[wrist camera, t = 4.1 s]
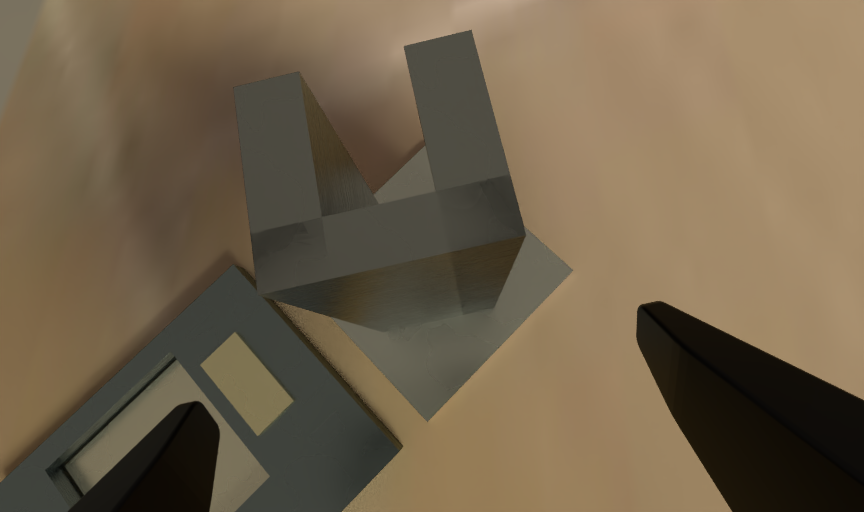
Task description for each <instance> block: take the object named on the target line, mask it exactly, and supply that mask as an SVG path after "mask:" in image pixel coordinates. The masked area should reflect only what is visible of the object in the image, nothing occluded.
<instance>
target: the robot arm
mask: <svg viewBox="0 0 864 512" xmlns="http://www.w3.org/2000/svg"><path fill="white" fill-rule="evenodd" d="M636 337H637V342H638V345H639V348H640V350H641V352H642V354H643V356H644V358H645V360H646V362H647V365H648V367H649V369H650V371H651V373H652V375H653V377H654V379H655V381H656V383H657V385H658V387H659V389H660V392H661V394H662V396H663V398H664V400H665V402H666V404H667V406H668V408H669V410H670V412H671V414H672V416H673V417H674V419H675V421H676V422H677V424H678V426H679V427H680V429H681V431H682V432H683V434H684V435H685V437H686V439H687V440H688V442H689V443H690V445H691V447H692V448H693V450H694V451H695V453H696V455H697V456H698V458H699V459H700V461H701V463H702V464H703V466H704V467H705V469H706V471H707V472H708V474H709V475H710V477H711V479H712V480H713V482H714V483H715V485H716V487H717V488H718V490H719V491H720V493H721V494H722V496H723V498H724V499H725V501H726V502H727V504H728V506H729V507H730V509H731V510H732V512H864V400H863V399H861V398H858V397H856V396H854V395H852V394H850V393H848V392H846V391H844V390H842V389H840V388H838V387H836V386H834V385H832V384H830V383H828V382H826V381H824V380H822V379H820V378H818V377H816V376H814V375H811V374H809V373H807V372H805V371H803V370H801V369H799V368H797V367H795V366H793V365H791V364H789V363H787V362H785V361H783V360H781V359H779V358H777V357H775V356H773V355H771V354H769V353H767V352H764V351H762V350H760V349H758V348H756V347H754V346H752V345H750V344H748V343H746V342H744V341H742V340H740V339H738V338H736V337H734V336H732V335H730V334H728V333H726V332H724V331H722V330H720V329H717V328H715V327H713V326H711V325H709V324H707V323H705V322H703V321H701V320H699V319H697V318H695V317H693V316H691V315H689V314H687V313H685V312H683V311H681V310H679V309H677V308H675V307H673V306H670V305H668V304H666V303H664V302H662V301H655V302H650V303H646V304H642V305H640V306H639V307H638V311H637V330H636ZM219 441H220V429H219V426H218V424H217V423H216V421H215V420H214V418H213V417H212V416H211V414H210V413H209V411H208V410H207V409H206V407H205V406H204V405H203V403H201V402H199V401H192V402H187V403H183V404H180V405H178V406H176V407H175V408H174V409H173V410H172V411H171V412H170V413H169V414H168V415H166V416H165V417H164V418H163V419H162V420H161V421H160V422H159V423H158V424H157V425H156V426H155V427H154V428H153V429H152V430H151V431H150V432H149V433H148V434H147V435H146V436H145V437H144V438H143V439H142V440H141V441H140V442H139V443H138V444H137V445H135V446H134V447H133V448H132V449H131V450H130V451H129V452H128V453H127V454H126V455H125V456H124V457H123V458H122V459H121V460H120V461H119V462H118V463H117V464H116V465H115V466H114V467H113V468H112V469H111V470H110V471H109V472H108V473H107V474H106V475H104V476H103V477H102V478H101V479H100V480H99V481H98V482H97V483H96V484H95V485H94V486H93V487H92V488H91V489H90V490H89V491H88V492H87V493H86V494H85V495H84V496H83V497H82V498H81V499H80V500H79V501H78V502H77V503H76V504H75V505H73V506H72V507H71V508H70V509H69V510H68V511H67V512H209V511H210V505H211V500H212V493H213V485H214V478H215V470H216V463H217V456H218V448H219Z"/></svg>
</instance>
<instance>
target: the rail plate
mask: <svg viewBox="0 0 864 512" xmlns="http://www.w3.org/2000/svg"><path fill="white" fill-rule="evenodd" d="M174 361H175V362H174ZM173 362H174V363H173ZM172 363H173V364H172ZM155 379H156V380H155ZM154 380H155V381H154ZM153 381H154V382H153ZM152 382H153V383H152ZM135 398H136V399H135ZM134 399H135V400H134ZM133 400H134V401H133ZM192 401H199V402H201V403H203V405H204V406H205V407H206V409H207V410H208V411H209V413H210V414H211V416H212V417H213V418H214V420H215V421H216V423H217V424H218V426H219V429H220V441H219V448H218V456H217V463H216V470H215V478H214V485H213V493H212V500H211V505H210V511H209V512H341V511H342V510H343V509H344V508H345V507H346V506H347V505H348V504H349V503H350V502H351V501H352V500H353V499H354V498H355V497H356V496H357V495H358V494H359V493H360V492H361V491H362V490H363V489H364V488H365V487H366V486H367V484H368V483H369V482H370V481H371V480H372V479H373V478H374V477H375V476H376V475H377V474H378V473H379V472H380V471H381V470H382V469H383V468H384V467H385V466H386V465H387V464H388V463H389V462H390V461H391V460H392V459H393V457H394V456H395V455H396V454H397V453H398V452H399V451H400V450H401V449H402V447H403V446H402V445H401V444H400V442H399V441H398V440H397V439H396V438H395V437H394V436H393V435H392V433H391V432H390V431H389V430H388V429H387V428H386V427H385V426H384V425H383V423H382V422H381V421H380V420H379V419H378V418H377V417H376V416H375V414H374V413H373V412H372V411H371V410H370V409H369V408H368V407H367V405H366V404H365V403H364V402H363V401H362V400H361V399H360V398H359V397H358V395H357V394H356V393H355V392H354V391H353V390H352V389H351V388H350V386H349V385H348V384H347V383H346V382H345V381H344V380H343V379H342V378H341V376H340V375H339V374H338V373H337V372H336V371H335V370H334V369H333V367H332V366H331V365H330V364H329V363H328V362H327V361H326V360H325V359H324V357H323V356H322V355H321V354H320V353H319V352H318V351H317V350H316V348H315V347H314V346H313V345H312V344H311V343H310V342H309V341H308V339H307V338H306V337H305V336H304V335H303V334H302V333H301V332H300V331H299V329H298V328H297V327H296V326H295V325H294V324H293V323H292V322H291V320H290V319H289V318H288V317H287V316H286V315H285V314H284V313H283V312H282V310H281V309H280V308H279V307H278V306H277V305H276V304H275V303H274V301H273V300H272V299H269V298H266V297H262V296H259V295H258V293H257V285H256V281H255V280H254V279H253V278H252V277H251V276H250V275H249V274H248V272H247V271H246V270H245V269H244V268H241V267H239V266H236V265H234V264H233V265H232V266H231V267H230V268H229V269H228V270H227V271H226V272H225V273H224V274H222V275H221V276H220V277H219V278H218V279H217V280H216V281H215V282H214V283H213V284H212V285H211V286H210V287H209V288H208V289H206V290H205V291H204V292H203V293H202V294H201V295H200V296H199V297H198V298H197V299H196V300H195V301H194V302H193V303H192V304H190V305H189V306H188V307H187V308H186V309H185V310H184V311H183V312H182V313H181V314H180V315H179V316H178V317H177V318H176V319H174V320H173V321H172V322H171V323H170V324H169V325H168V326H167V327H166V328H165V329H164V330H163V331H162V332H161V333H160V334H158V335H157V336H156V337H155V338H154V339H153V340H152V341H151V342H150V343H149V344H148V345H147V346H146V347H145V348H144V349H142V350H141V351H140V352H139V353H138V354H137V355H136V356H135V357H134V358H133V359H132V360H131V361H130V362H129V363H127V364H126V365H125V366H124V367H123V368H122V369H121V370H120V371H119V372H118V373H117V374H116V375H115V376H114V377H113V378H111V379H110V380H109V381H108V382H107V383H106V384H105V385H104V386H103V387H102V388H101V389H100V390H99V391H98V392H97V393H95V394H94V395H93V396H92V397H91V398H90V399H89V400H88V401H87V402H86V403H85V404H84V405H83V406H82V407H81V408H79V409H78V410H77V411H76V412H75V413H74V414H73V415H72V416H71V417H70V418H69V419H68V420H67V421H66V422H65V423H63V424H62V425H61V426H60V427H59V428H58V429H57V430H56V431H55V432H54V433H53V434H52V435H51V436H50V437H49V438H47V439H46V440H45V441H44V442H43V443H42V444H41V445H40V446H39V447H38V448H37V449H36V450H35V451H34V452H33V453H31V454H30V455H29V456H28V457H27V458H26V459H25V460H24V461H23V462H22V463H21V464H20V465H19V466H18V467H17V468H15V469H14V470H13V471H12V472H11V473H10V474H9V475H8V476H7V477H6V478H5V479H4V480H3V481H2V482H1V483H0V512H67V511H68V510H69V509H70V508H71V507H72V506H73V505H75V504H76V503H77V502H78V501H79V500H80V499H81V498H82V497H83V496H84V495H85V494H86V493H87V492H88V491H89V490H90V489H91V488H92V487H93V486H94V485H95V484H96V483H97V482H98V481H99V480H100V479H101V478H102V477H103V476H104V475H106V474H107V473H108V472H109V471H110V470H111V469H112V468H113V467H114V466H115V465H116V464H117V463H118V462H119V461H120V460H121V459H122V458H123V457H124V456H125V455H126V454H127V453H128V452H129V451H130V450H131V449H132V448H133V447H134V446H135V445H137V444H138V443H139V442H140V441H141V440H142V439H143V438H144V437H145V436H146V435H147V434H148V433H149V432H150V431H151V430H152V429H153V428H154V427H155V426H156V425H157V424H158V423H159V422H160V421H161V420H162V419H163V418H164V417H165V416H166V415H168V414H169V413H170V412H171V411H172V410H173V409H174V408H175V407H176V406H178V405H180V404H183V403H187V402H192ZM116 416H117V417H116ZM115 417H116V418H115ZM114 418H115V419H114ZM113 419H114V420H113ZM96 435H97V436H96ZM95 436H96V437H95ZM94 437H95V438H94ZM77 453H78V454H77ZM76 454H77V455H76ZM75 455H76V456H75ZM74 456H75V457H74Z"/></svg>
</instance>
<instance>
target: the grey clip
mask: <svg viewBox="0 0 864 512" xmlns="http://www.w3.org/2000/svg"><path fill="white" fill-rule="evenodd" d="M404 50H405V54H406V59H407V63H408V68H409V73H410V77H411V82H412V86H413V91H414V95H415V100H416V104H417V109H418V114H419V118H420V123H421V127H422V132H423V136H424V141H425V146H426V150H427V155H428V159H429V164H430V168H431V173H432V178H433V182H434V187H435V192H430V193H426V194H421V195H417V196H413V197H408V198H404V199H399V200H395V201H391V202H386V203H382V204H379V203H378V202H377V200H376V198H375V197H374V195H373V193H372V192H371V190H370V188H369V187H368V185H367V183H366V182H365V180H364V178H363V177H362V175H361V173H360V172H359V170H358V169H357V167H356V165H355V164H354V162H353V160H352V159H351V157H350V155H349V154H348V152H347V150H346V149H345V147H344V145H343V144H342V142H341V140H340V139H339V137H338V135H337V134H336V132H335V130H334V129H333V127H332V125H331V124H330V122H329V120H328V119H327V117H326V115H325V114H324V112H323V110H322V109H321V107H320V105H319V104H318V102H317V100H316V99H315V97H314V95H313V94H312V92H311V91H310V89H309V87H308V86H307V84H306V82H305V81H304V79H303V77H302V76H301V74H300V72H295V73H291V74H286V75H282V76H278V77H274V78H270V79H266V80H262V81H257V82H253V83H249V84H245V85H241V86H237V87H233V89H234V97H235V106H236V114H237V123H238V131H239V140H240V148H241V157H242V165H243V174H244V183H245V191H246V200H247V208H248V217H249V225H250V234H251V242H252V251H253V259H254V268H255V276H256V285H257V293H258V295H259V296H262V297H266V298H269V299H272V300H276V301H279V302H282V303H286V304H289V305H293V306H296V307H299V308H303V309H306V310H309V311H313V312H316V313H319V314H323V315H326V316H330V317H333V318H336V319H340V320H343V321H346V322H350V323H353V324H356V325H360V326H363V327H367V328H370V329H373V330H377V331H380V332H387V331H391V330H396V329H401V328H405V327H410V326H414V325H419V324H424V323H428V322H433V321H437V320H442V319H447V318H451V317H456V316H460V315H465V314H470V313H474V312H479V311H483V310H488V309H493V308H495V306H496V303H497V301H498V299H499V297H500V294H501V292H502V290H503V287H504V285H505V283H506V281H507V278H508V276H509V274H510V271H511V269H512V267H513V264H514V262H515V260H516V258H517V255H518V253H519V251H520V248H521V246H522V244H523V242H524V239H525V237H526V232H525V229H524V225H523V221H522V217H521V214H520V210H519V206H518V202H517V199H516V195H515V191H514V187H513V184H512V180H511V176H510V172H509V169H508V165H507V161H506V158H505V154H504V150H503V146H502V143H501V139H500V135H499V131H498V128H497V124H496V120H495V116H494V113H493V109H492V105H491V101H490V98H489V94H488V90H487V87H486V83H485V79H484V75H483V72H482V68H481V64H480V60H479V57H478V53H477V49H476V45H475V42H474V38H473V34H472V30H469V31H465V32H461V33H456V34H452V35H448V36H444V37H440V38H436V39H432V40H427V41H423V42H419V43H415V44H411V45H407V46H404Z"/></svg>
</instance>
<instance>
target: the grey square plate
mask: <svg viewBox="0 0 864 512" xmlns="http://www.w3.org/2000/svg"><path fill="white" fill-rule="evenodd" d="M430 192H435V187H434V182H433V178H432V173H431V168H430V164H429V159H428V155H427V150H426V146H424V147H423V148H422V149H421V150H420V151H419V152H418V153H417V154H416V155H415V156H413V157H412V158H411V159H410V160H409V161H408V162H407V163H406V164H405V165H404V166H403V167H402V168H401V169H400V170H399V171H398V172H397V173H396V174H395V175H394V176H393V177H392V178H390V179H389V180H388V181H387V182H386V183H385V184H384V185H383V186H382V187H381V188H380V189H379V190H378V191H377V192H376V193H375V194H374V197H375V198H376V200H377V202H378V203H379V204H382V203H386V202H391V201H395V200H399V199H404V198H408V197H413V196H417V195H421V194H426V193H430ZM524 229H525V232H526V237H525V239H524V242H523V244H522V246H521V248H520V251H519V253H518V255H517V258H516V260H515V262H514V264H513V267H512V269H511V271H510V274H509V276H508V278H507V281H506V283H505V285H504V287H503V290H502V292H501V294H500V297H499V299H498V301H497V303H496V306H495V308H493V309H488V310H483V311H479V312H474V313H470V314H465V315H460V316H456V317H451V318H447V319H442V320H437V321H433V322H428V323H424V324H419V325H414V326H410V327H405V328H401V329H396V330H391V331H387V332H380V331H377V330H373V329H370V328H367V327H363V326H360V325H356V324H353V323H350V322H346V321H343V320H340V319H336V318H333V317H331V318H332V319H333V320H334V321H335V322H336V323H337V324H338V325H339V327H340V328H341V329H342V330H343V331H344V332H345V333H346V334H347V335H348V336H349V337H350V338H351V340H352V341H353V342H354V343H355V344H356V345H357V346H358V347H359V348H360V349H361V350H362V351H363V353H364V354H365V355H366V356H367V357H368V358H369V359H370V360H371V361H372V362H373V363H374V364H375V366H376V367H377V368H378V369H379V370H380V371H381V372H382V373H383V374H384V375H385V376H386V377H387V379H388V380H389V381H390V382H391V383H392V384H393V385H394V386H395V387H396V388H397V389H398V390H399V392H400V393H401V394H402V395H403V396H404V397H405V398H406V399H407V400H408V401H409V402H410V403H411V405H412V406H413V407H414V408H415V409H416V410H417V411H418V412H419V413H420V414H421V415H422V416H423V418H424V419H425V420H426V421H427V422H428V421H429V420H430V419H431V418H432V416H433V415H434V414H435V413H436V412H437V411H438V410H439V409H440V408H441V407H442V406H443V405H444V404H445V403H446V402H447V401H448V400H449V399H450V398H451V397H452V396H453V395H454V394H455V393H456V392H457V391H458V389H459V388H460V387H461V386H462V385H463V384H464V383H465V382H466V381H467V380H468V379H469V378H470V377H471V376H472V375H473V374H474V373H475V372H476V371H477V370H478V369H479V368H480V367H481V366H482V365H483V364H484V362H485V361H486V360H487V359H488V358H489V357H490V356H491V355H492V354H493V353H494V352H495V351H496V350H497V349H498V348H499V347H500V346H501V345H502V344H503V343H504V342H505V341H506V340H507V339H508V338H509V337H510V335H511V334H512V333H513V332H514V331H515V330H516V329H517V328H518V327H519V326H520V325H521V324H522V323H523V322H524V321H525V320H526V319H527V318H528V317H529V316H530V315H531V314H532V313H533V312H534V311H535V310H536V308H537V307H538V306H539V305H540V304H541V303H542V302H543V301H544V300H545V299H546V298H547V297H548V296H549V295H550V294H551V293H552V292H553V291H554V290H555V289H556V288H557V287H558V286H559V285H560V284H561V283H562V282H563V280H564V279H565V278H566V277H567V276H568V275H569V274H570V273H571V272H572V271H573V270H572V269H571V268H570V267H569V266H568V265H567V264H566V263H565V262H563V261H562V260H561V259H560V258H559V257H558V256H557V255H556V254H554V253H553V252H552V251H551V250H550V249H549V248H548V247H547V246H545V245H544V244H543V243H542V242H541V241H540V240H539V239H538V238H537V237H535V236H534V235H533V234H532V233H531V232H530V231H529V230H528V229H526V228H525V227H524Z"/></svg>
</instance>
